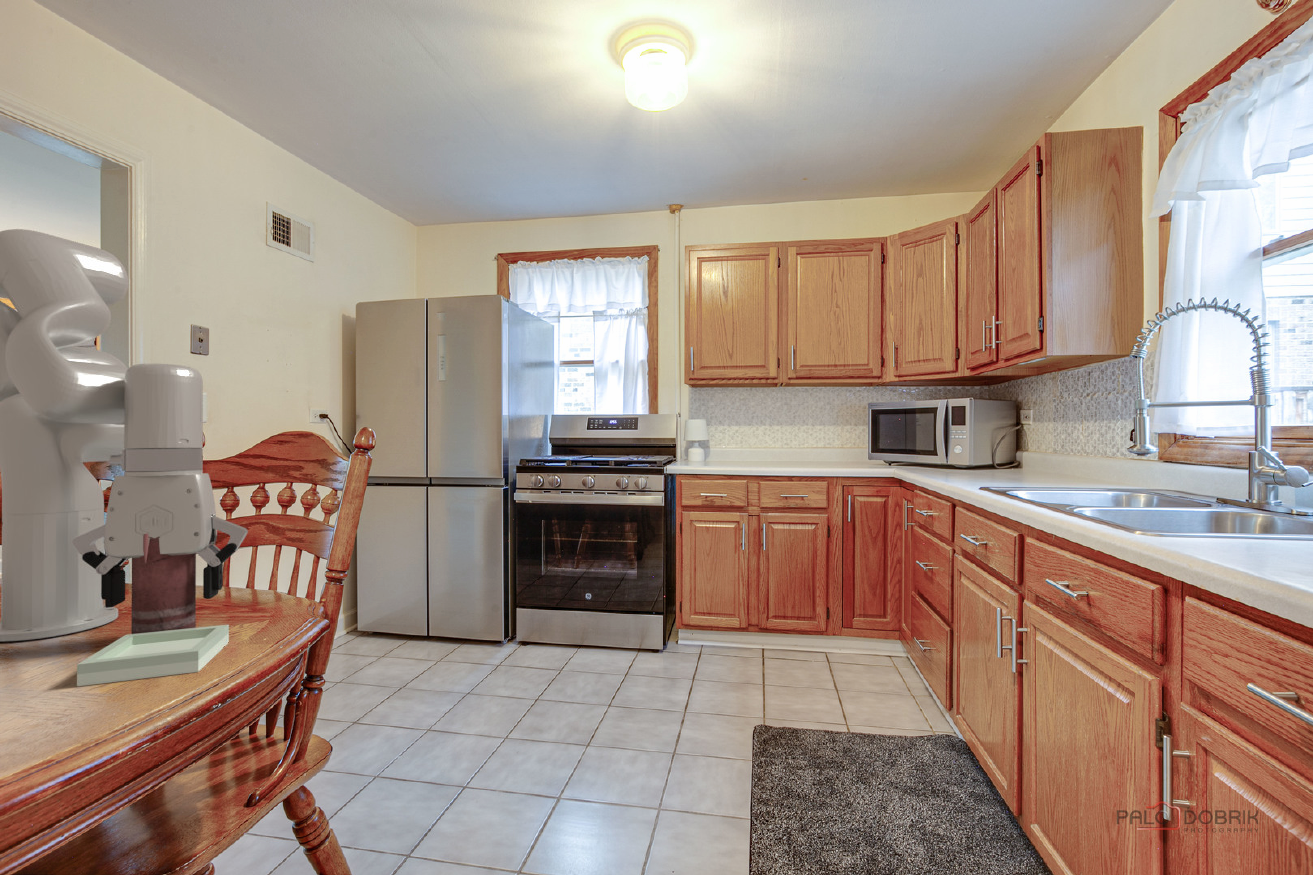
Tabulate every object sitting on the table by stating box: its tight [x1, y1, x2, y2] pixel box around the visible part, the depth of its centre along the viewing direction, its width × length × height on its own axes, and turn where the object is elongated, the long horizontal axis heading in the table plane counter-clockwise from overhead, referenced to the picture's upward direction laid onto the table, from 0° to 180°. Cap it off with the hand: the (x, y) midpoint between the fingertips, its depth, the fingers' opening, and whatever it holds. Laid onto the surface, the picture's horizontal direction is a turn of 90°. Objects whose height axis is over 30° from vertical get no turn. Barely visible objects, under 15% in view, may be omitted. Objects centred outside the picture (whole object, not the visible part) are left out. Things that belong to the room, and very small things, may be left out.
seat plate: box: [76, 624, 230, 687], centre depth 65 cm, size 10×10×2 cm
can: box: [130, 532, 197, 634], centre depth 73 cm, size 6×6×14 cm
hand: (164, 600), depth 73 cm, fingers open, 9 cm apart
